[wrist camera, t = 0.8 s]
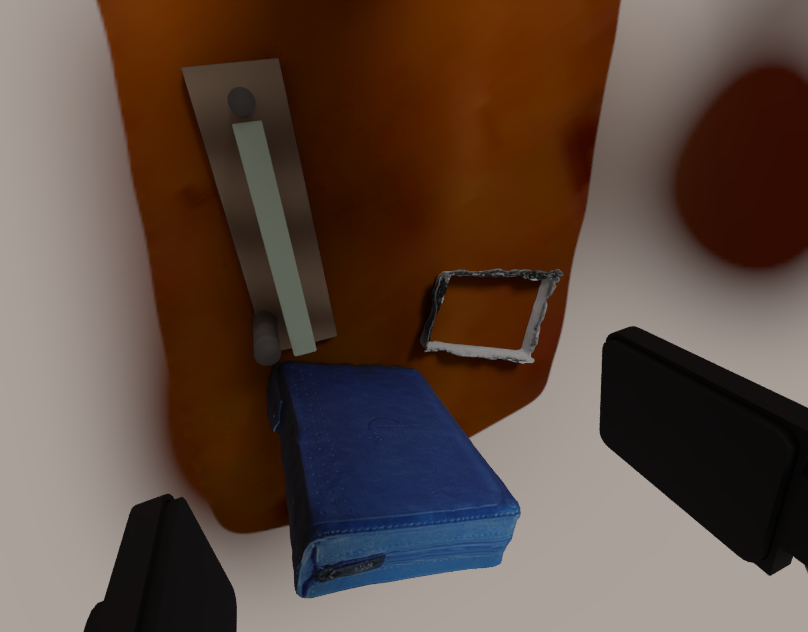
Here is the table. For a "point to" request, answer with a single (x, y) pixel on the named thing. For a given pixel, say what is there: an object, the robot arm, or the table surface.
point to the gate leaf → (274, 233)
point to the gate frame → (216, 112)
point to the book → (380, 479)
